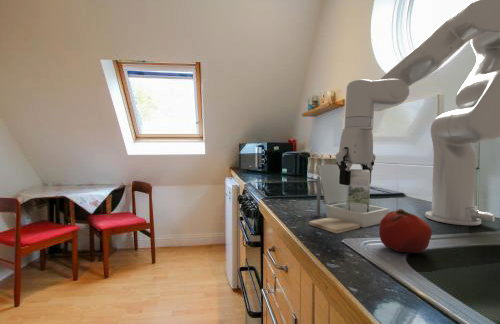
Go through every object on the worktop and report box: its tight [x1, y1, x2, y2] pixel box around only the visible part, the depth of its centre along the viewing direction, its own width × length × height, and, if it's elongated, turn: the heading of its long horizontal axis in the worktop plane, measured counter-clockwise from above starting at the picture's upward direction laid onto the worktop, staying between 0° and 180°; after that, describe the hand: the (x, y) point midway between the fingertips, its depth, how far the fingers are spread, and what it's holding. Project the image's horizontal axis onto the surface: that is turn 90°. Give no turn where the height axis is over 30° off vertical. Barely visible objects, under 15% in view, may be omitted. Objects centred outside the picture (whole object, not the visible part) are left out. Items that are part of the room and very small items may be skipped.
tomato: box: [378, 208, 433, 254], centre depth 50 cm, size 9×9×8 cm
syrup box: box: [345, 168, 371, 213], centre depth 73 cm, size 6×6×14 cm
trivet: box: [308, 217, 360, 235], centre depth 66 cm, size 9×9×1 cm
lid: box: [315, 164, 347, 205], centre depth 80 cm, size 12×12×1 cm
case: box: [316, 176, 390, 228], centre depth 73 cm, size 15×14×12 cm
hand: (355, 184), depth 73 cm, fingers open, 9 cm apart
